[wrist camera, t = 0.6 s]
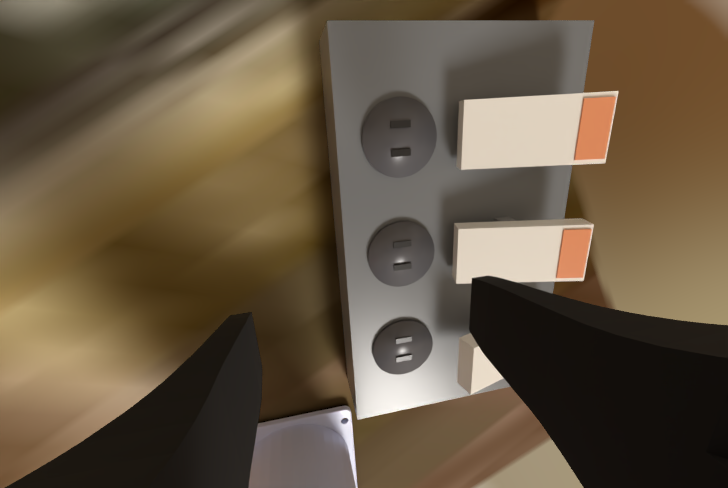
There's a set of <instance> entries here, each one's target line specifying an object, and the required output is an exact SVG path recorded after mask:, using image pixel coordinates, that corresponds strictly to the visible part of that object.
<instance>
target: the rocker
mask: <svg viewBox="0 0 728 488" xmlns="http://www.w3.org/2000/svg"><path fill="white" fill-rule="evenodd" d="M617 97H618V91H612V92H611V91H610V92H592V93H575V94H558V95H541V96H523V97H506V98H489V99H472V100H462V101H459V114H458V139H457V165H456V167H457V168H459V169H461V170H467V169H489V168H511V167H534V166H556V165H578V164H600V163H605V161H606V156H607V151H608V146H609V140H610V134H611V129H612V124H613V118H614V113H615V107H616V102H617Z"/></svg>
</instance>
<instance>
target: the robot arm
mask: <svg viewBox="0 0 728 488" xmlns="http://www.w3.org/2000/svg"><path fill="white" fill-rule="evenodd" d="M469 331H470V333H471V334H472V336H473V338H474V339H475V341H476V343H477V344H478V346H479V347H480V349H481V350H482V352H483V354H484V355H485V356H486V357H487V359H488V360H489V361H490V362H491V364H492V365H493V366H494V367H495V368H496V370H497V371H498V372H499V373H500V374H501V376H502V377H503V378H504V379H505V380H506V381H507V383H508V384H509V385H510V386H511V387H512V389H513V390H514V391H515V392H516V393H517V394H518V396H519V397H520V398H521V399H522V400H523V402H524V403H525V404H526V405H527V406H528V407H529V409H530V410H531V411H532V412H533V414H534V415H535V416H536V418H537V419H538V420H539V421H540V423H541V424H542V426H543V427H544V429H545V430H546V431H547V433H548V434H549V436H550V437H551V439H552V440H553V441H554V443H555V444H556V446H557V447H558V449H559V450H560V452H561V453H562V455H563V456H564V458H565V459H566V461H567V462H568V464H569V466H570V467H571V469H572V470H573V472H574V473H575V475H576V476H577V478H578V479H579V481H580V483H581V484H582V486H583V487H584V488H728V325H717V324H706V323H696V322H687V321H679V320H673V319H666V318H659V317H652V316H646V315H640V314H634V313H629V312H624V311H619V310H615V309H610V308H605V307H601V306H596V305H592V304H588V303H584V302H581V301H577V300H573V299H570V298H566V297H562V296H559V295H556V294H552V293H549V292H546V291H542V290H539V289H536V288H533V287H530V286H526V285H523V284H520V283H517V282H513V281H510V280H506V279H503V278H499V277H494V276H482V277H476V278H472V283H471V302H470V320H469ZM261 399H262V364H261V359H260V354H259V348H258V343H257V338H256V333H255V328H254V322H253V317H252V312H249V313H243V314H237V315H230V316H229V317H228V318H227V319H226V320H225V321H224V322H223V323H222V324H221V326H220V327H219V328H218V329H217V330H216V331H215V332H214V333H213V334H212V335H211V336H210V337H209V338H208V339H207V340H206V341H205V342H204V344H203V345H202V346H201V347H200V348H199V349H198V350H197V351H196V352H195V353H194V354H193V355H192V356H191V357H190V358H189V359H187V360H186V361H185V362H184V363H183V364H182V365H181V366H180V367H179V368H178V369H177V370H176V371H175V372H174V373H172V374H171V375H170V376H169V377H168V378H167V379H166V380H165V381H164V382H162V383H161V384H160V385H159V386H158V387H156V388H155V389H154V390H153V391H152V392H150V393H149V394H148V395H147V396H145V397H144V398H143V399H141V400H140V401H139V402H138V403H136V404H135V405H134V406H133V407H131V408H130V409H128V410H127V411H126V412H124V413H123V414H122V415H120V416H119V417H117V418H116V419H114V420H113V421H111V422H110V423H108V424H107V425H106V426H104V427H103V428H101V429H100V430H98V431H97V432H95V433H94V434H92V435H91V436H90V437H88V438H87V439H85V440H84V441H82V442H81V443H79V444H78V445H76V446H74V447H73V448H71V449H70V450H68V451H66V452H65V453H63V454H62V455H60V456H58V457H57V458H55V459H53V460H52V461H50V462H48V463H47V464H45V465H43V466H42V467H40V468H38V469H37V470H35V471H33V472H31V473H30V474H28V475H26V476H25V477H23V478H21V479H19V480H18V481H16V482H14V483H12V484H11V485H9V486H7V487H5V488H358V487H357V475H356V463H355V451H354V439H353V427H352V415H351V410H350V408H349V407H348V406H340V407H335V408H330V409H325V410H320V411H315V412H311V413H306V414H301V415H296V416H291V417H287V418H282V419H277V420H272V421H267V422H263V423H258V420H259V413H260V406H261ZM343 418H346V419H343Z"/></svg>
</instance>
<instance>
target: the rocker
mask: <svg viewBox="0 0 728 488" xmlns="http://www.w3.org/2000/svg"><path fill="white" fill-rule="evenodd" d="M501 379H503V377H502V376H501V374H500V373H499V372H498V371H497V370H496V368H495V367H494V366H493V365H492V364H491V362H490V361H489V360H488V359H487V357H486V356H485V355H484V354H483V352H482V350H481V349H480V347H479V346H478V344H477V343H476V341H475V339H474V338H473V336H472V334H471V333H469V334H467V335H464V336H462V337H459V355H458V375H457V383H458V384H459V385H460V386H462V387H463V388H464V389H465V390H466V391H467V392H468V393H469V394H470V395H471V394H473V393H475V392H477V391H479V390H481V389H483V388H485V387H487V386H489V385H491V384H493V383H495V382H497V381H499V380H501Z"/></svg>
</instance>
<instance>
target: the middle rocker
mask: <svg viewBox="0 0 728 488" xmlns="http://www.w3.org/2000/svg"><path fill="white" fill-rule="evenodd" d="M593 227H594V224H592V223H590V222H588V221H586V220H584V219H582V218H581V219H553V220H525V221H496V222H468V223H454V241H453V266H452V276H453V278H454V280H455V282H456V284H469V283H472V278H476V277H482V276H494V277H499V278H503V279H506V280H510V281H513V282H551V281H584V276H585V270H586V265H587V259H588V254H589V249H590V243H591V238H592V232H593Z"/></svg>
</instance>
